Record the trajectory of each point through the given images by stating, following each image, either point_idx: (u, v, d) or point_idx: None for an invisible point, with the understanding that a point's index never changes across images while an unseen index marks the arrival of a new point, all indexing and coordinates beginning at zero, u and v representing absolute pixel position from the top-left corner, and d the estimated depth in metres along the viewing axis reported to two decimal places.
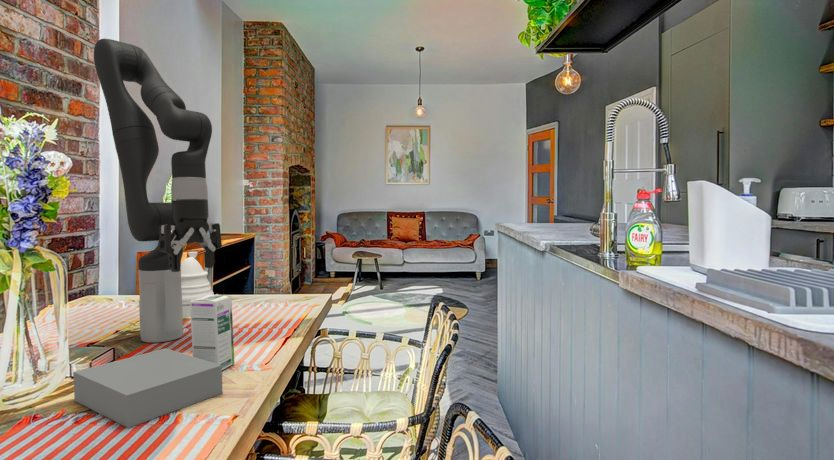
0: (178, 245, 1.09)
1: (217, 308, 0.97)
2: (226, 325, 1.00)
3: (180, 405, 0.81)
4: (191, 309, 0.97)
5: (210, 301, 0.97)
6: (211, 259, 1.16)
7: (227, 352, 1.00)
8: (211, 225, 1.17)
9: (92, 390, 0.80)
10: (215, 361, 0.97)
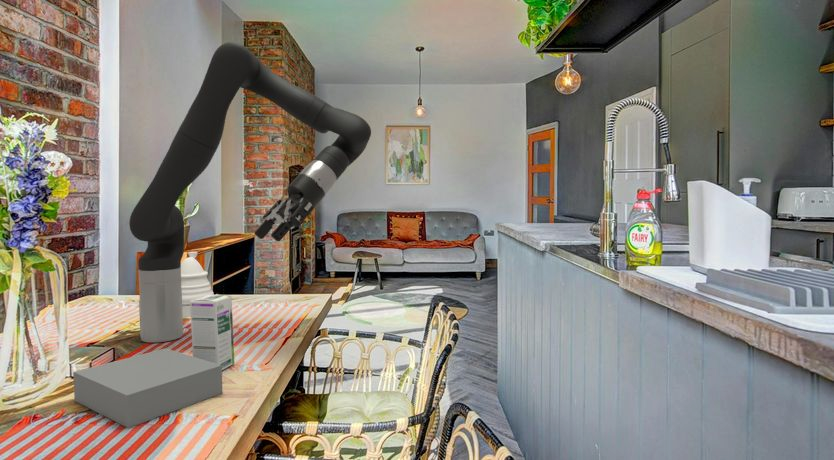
0: None
1: (217, 308, 0.97)
2: (226, 325, 1.00)
3: (180, 405, 0.81)
4: (191, 309, 0.97)
5: (210, 301, 0.97)
6: None
7: (227, 352, 1.00)
8: None
9: (92, 390, 0.80)
10: (215, 361, 0.97)
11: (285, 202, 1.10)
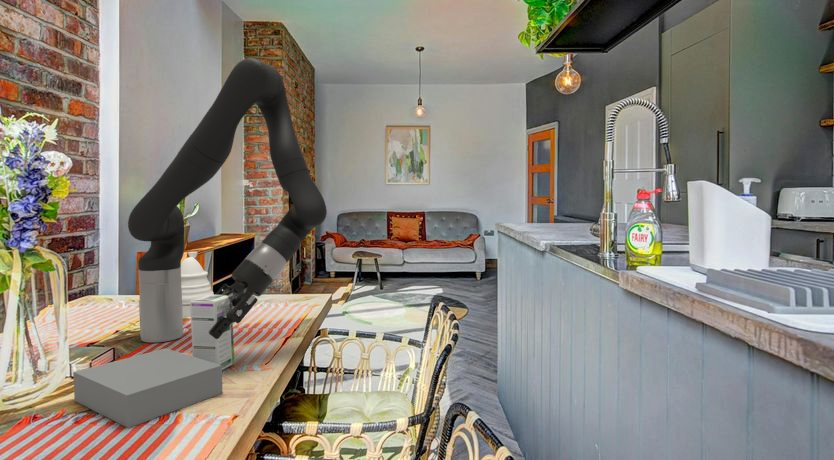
0: None
1: (217, 308, 0.97)
2: None
3: (180, 405, 0.81)
4: (191, 309, 0.97)
5: (210, 301, 0.97)
6: None
7: (227, 352, 1.00)
8: None
9: (92, 390, 0.80)
10: (215, 361, 0.97)
11: (229, 290, 1.03)
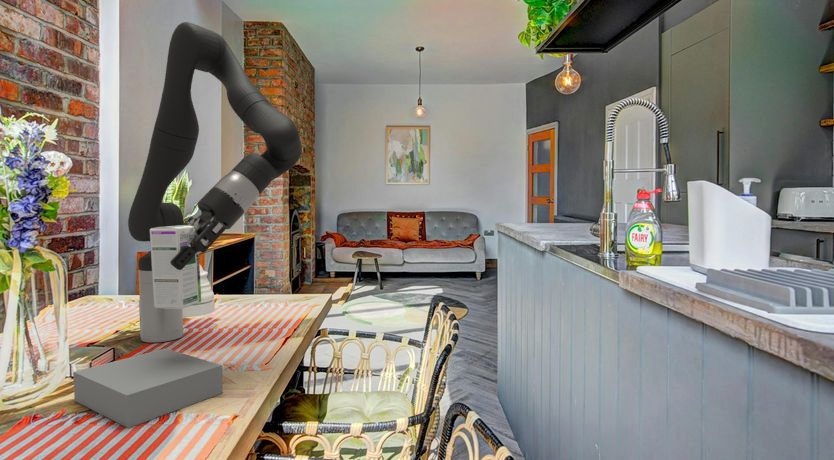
0: None
1: (180, 236, 0.87)
2: None
3: (180, 405, 0.81)
4: (151, 238, 0.87)
5: (172, 228, 0.87)
6: None
7: (192, 287, 0.90)
8: None
9: (92, 390, 0.80)
10: (178, 295, 0.87)
11: (194, 221, 0.93)
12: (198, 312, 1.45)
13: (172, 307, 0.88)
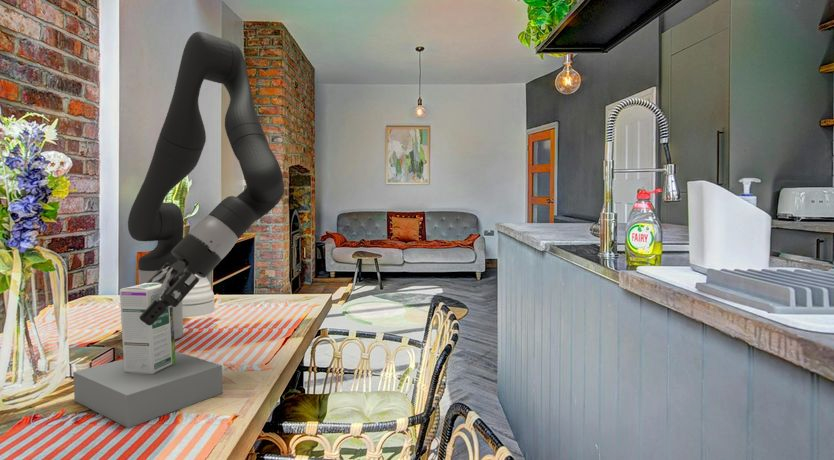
0: None
1: (151, 298, 0.82)
2: (163, 318, 0.85)
3: (180, 405, 0.81)
4: (121, 299, 0.83)
5: (143, 289, 0.82)
6: None
7: (165, 349, 0.85)
8: None
9: (92, 390, 0.80)
10: (149, 360, 0.83)
11: (167, 270, 0.88)
12: (198, 312, 1.45)
13: (142, 372, 0.83)
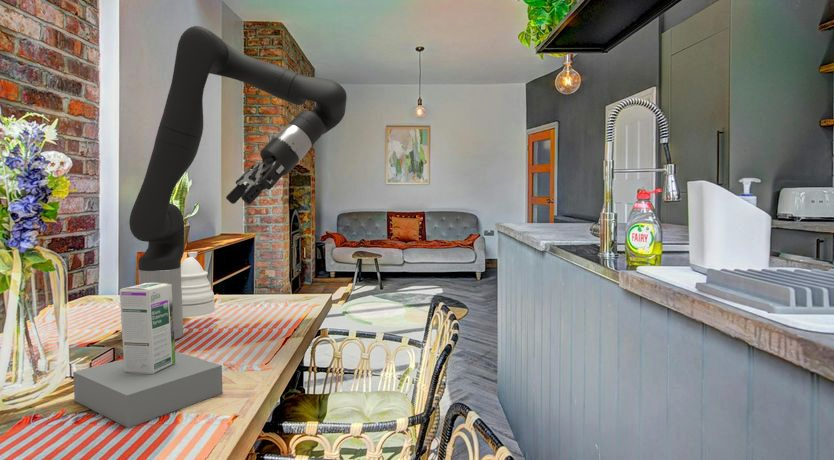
0: None
1: (151, 298, 0.82)
2: (163, 318, 0.85)
3: (180, 405, 0.81)
4: (121, 299, 0.83)
5: (142, 289, 0.82)
6: None
7: (165, 349, 0.85)
8: None
9: (92, 390, 0.80)
10: (149, 360, 0.83)
11: (258, 166, 1.08)
12: (198, 312, 1.45)
13: (142, 372, 0.83)
